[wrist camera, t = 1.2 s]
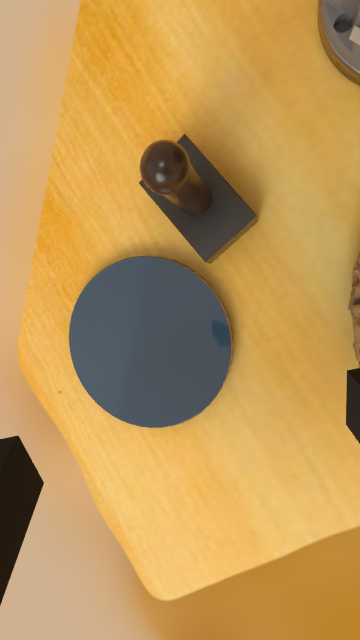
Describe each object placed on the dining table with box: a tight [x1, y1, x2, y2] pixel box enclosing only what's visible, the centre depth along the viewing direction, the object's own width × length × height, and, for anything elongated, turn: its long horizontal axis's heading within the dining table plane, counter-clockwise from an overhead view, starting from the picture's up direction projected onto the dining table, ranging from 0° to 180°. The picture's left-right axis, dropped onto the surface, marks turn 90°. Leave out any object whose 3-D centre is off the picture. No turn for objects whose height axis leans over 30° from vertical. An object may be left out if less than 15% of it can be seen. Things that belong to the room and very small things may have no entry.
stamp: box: [139, 134, 258, 263], centre depth 27 cm, size 10×6×13 cm, turn 41°
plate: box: [69, 256, 233, 428], centre depth 36 cm, size 18×18×1 cm
